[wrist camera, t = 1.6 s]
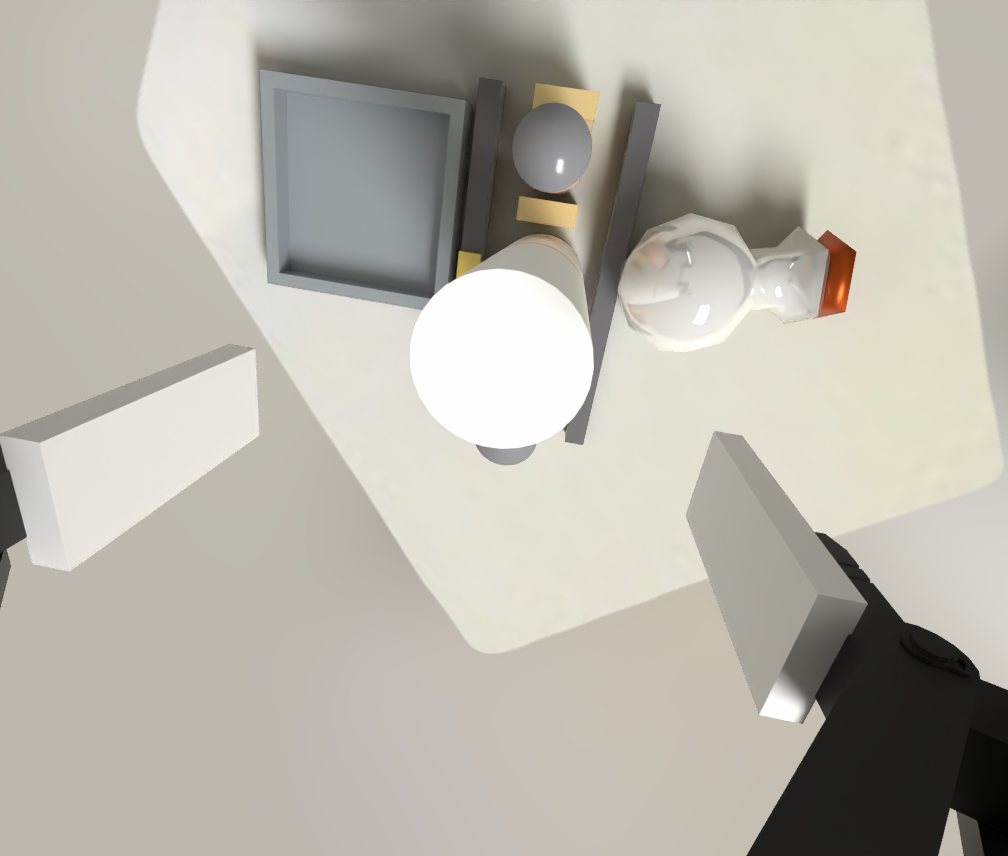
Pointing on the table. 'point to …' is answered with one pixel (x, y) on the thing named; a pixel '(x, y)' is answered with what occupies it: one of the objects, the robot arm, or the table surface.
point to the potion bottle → (726, 281)
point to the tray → (361, 187)
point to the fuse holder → (560, 205)
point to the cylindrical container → (507, 346)
